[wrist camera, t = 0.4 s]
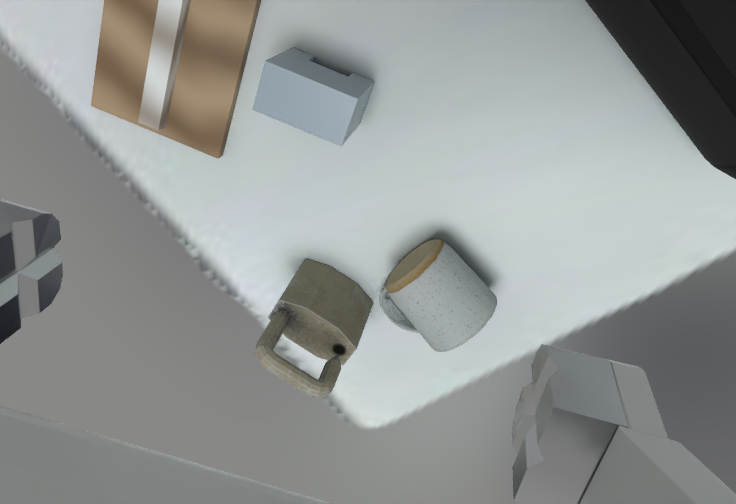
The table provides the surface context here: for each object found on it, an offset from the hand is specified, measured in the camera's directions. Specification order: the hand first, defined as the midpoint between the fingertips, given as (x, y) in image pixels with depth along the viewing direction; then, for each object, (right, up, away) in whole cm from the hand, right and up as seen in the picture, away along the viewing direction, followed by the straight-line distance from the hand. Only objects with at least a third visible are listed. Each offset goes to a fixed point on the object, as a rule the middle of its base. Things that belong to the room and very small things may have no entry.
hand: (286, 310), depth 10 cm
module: (-2, +15, +44) cm, 46 cm away
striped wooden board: (-15, +21, +44) cm, 51 cm away
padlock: (-2, -3, +53) cm, 53 cm away
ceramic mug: (+8, -2, +50) cm, 51 cm away
